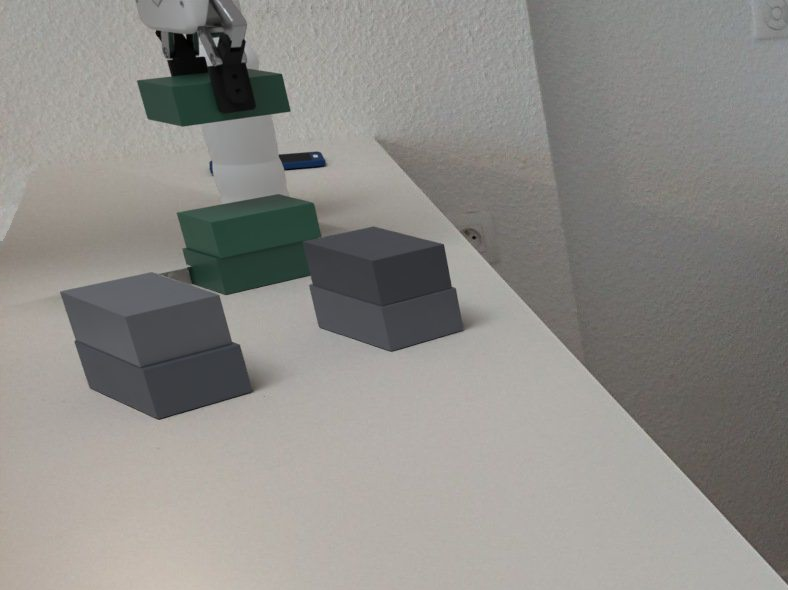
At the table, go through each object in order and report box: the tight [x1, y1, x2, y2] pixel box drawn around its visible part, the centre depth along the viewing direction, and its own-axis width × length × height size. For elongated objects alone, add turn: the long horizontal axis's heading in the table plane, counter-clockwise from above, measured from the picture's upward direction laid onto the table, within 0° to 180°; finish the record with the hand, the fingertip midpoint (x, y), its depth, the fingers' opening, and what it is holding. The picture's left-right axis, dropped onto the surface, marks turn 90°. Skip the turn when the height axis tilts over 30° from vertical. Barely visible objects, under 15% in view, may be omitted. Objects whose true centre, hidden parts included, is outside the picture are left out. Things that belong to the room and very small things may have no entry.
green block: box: [136, 69, 292, 127], centre depth 117 cm, size 10×6×3 cm, turn 144°
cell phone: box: [208, 151, 326, 175], centre depth 173 cm, size 7×14×1 cm, turn 118°
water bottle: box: [197, 38, 291, 205], centre depth 138 cm, size 7×7×25 cm
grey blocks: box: [59, 226, 464, 420], centre depth 103 cm, size 26×11×8 cm, turn 144°
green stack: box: [176, 194, 323, 295], centre depth 124 cm, size 10×7×7 cm, turn 144°
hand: (217, 105), depth 118 cm, fingers closed on green block, 6 cm apart
